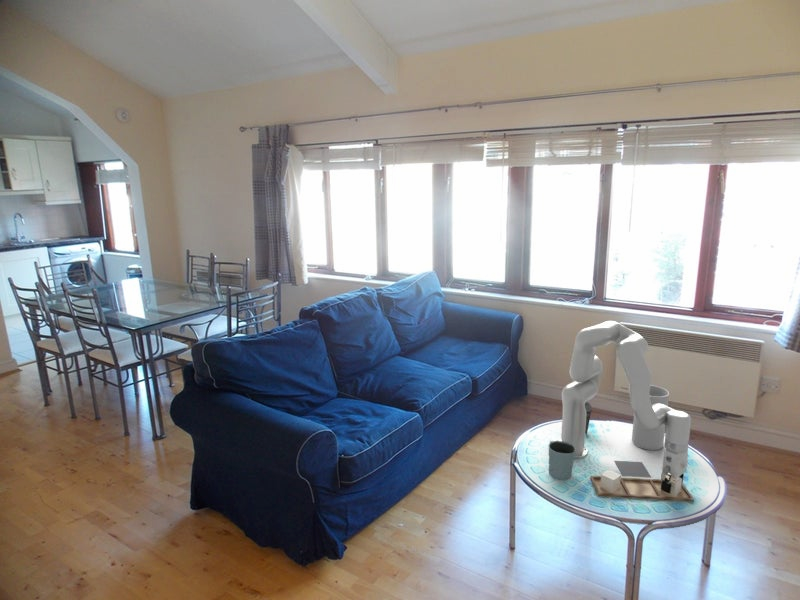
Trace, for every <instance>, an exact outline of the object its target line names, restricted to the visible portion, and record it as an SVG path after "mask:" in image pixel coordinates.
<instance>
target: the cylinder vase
mask: <svg viewBox="0 0 800 600" xmlns="http://www.w3.org/2000/svg"><path fill="white" fill-rule="evenodd" d="M649 395H650V401H651V405H653V404H656V403H660V404H663V405H666V406H668V407H669V397H670V392H669V390H667V389H665V388H663V387H660V386H656V385H652V384H651V387H650V392H649ZM631 434H632V435H631V442H632V443H633V444H634V445H635V446H637V447H639V448H641V449H643V450H644V449H645V450H648V451H657V450H660V449H662V448H663V447H664V444H665V434H666V426H665V425H663V426H661V427H660V428H659V429H658V430H656V431H648V430H645V429H644V428H643V427H642V426H641V425H640V424H639V422H638V420H637V419H636V416H635V414H634V413H633V422H632V433H631Z"/></svg>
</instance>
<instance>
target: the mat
mask: <svg viewBox="0 0 800 600" xmlns="http://www.w3.org/2000/svg"><path fill="white" fill-rule="evenodd" d="M613 462H614V463H615V466H616V468H617V470H618V471H619V473H620V475H621V477H631V478H649V479H653V478H652V476H651V474H650V473H649V471H648V469H647V467H646V465H644V463H643V462H642V461H632V460H629V461H626V460H614V461H613Z"/></svg>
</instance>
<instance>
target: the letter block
mask: <svg viewBox="0 0 800 600" xmlns="http://www.w3.org/2000/svg"><path fill="white" fill-rule="evenodd" d="M668 474H669V475H671V474H670V473H668ZM666 478H667V479H668V480H669V476H666ZM661 482H662V481H661ZM670 483H671V492H670V493H667V492H665V493H667V494H669V495H671V496H673V497H675V496H676V495H677V494H678V493H680V492H681V484H682V478H680V477H678V478H676V479H674V478H672V480H671V482H670ZM660 491H662V490H660ZM662 492H664V491H662Z"/></svg>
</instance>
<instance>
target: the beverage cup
mask: <svg viewBox="0 0 800 600" xmlns="http://www.w3.org/2000/svg"><path fill="white" fill-rule="evenodd" d="M585 409H586V430H585V435H586V434H588V430H589V425H590V421H591V419H590V418H591V415H592V412H593V407H592V405H591V403H590V402H589V400H588V401H586V402H585Z"/></svg>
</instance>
